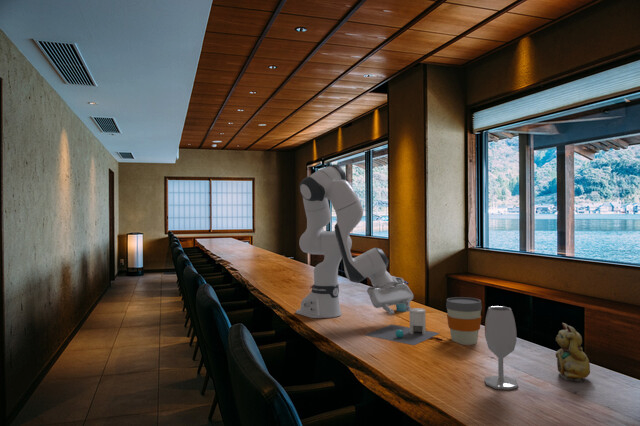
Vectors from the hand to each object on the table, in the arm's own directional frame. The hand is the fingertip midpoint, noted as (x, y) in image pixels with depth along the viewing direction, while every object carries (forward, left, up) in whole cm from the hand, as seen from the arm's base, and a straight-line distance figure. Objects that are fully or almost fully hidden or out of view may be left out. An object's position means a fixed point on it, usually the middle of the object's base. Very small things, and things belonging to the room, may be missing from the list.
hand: (401, 312), depth 185 cm
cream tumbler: (+9, -3, -6) cm, 12 cm away
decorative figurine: (+66, -16, -7) cm, 69 cm away
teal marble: (+7, -13, -5) cm, 16 cm away
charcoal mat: (+5, -8, -7) cm, 12 cm away
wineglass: (+52, -34, -7) cm, 63 cm away
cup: (-17, +29, -7) cm, 34 cm away
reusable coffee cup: (+27, -1, -7) cm, 28 cm away
